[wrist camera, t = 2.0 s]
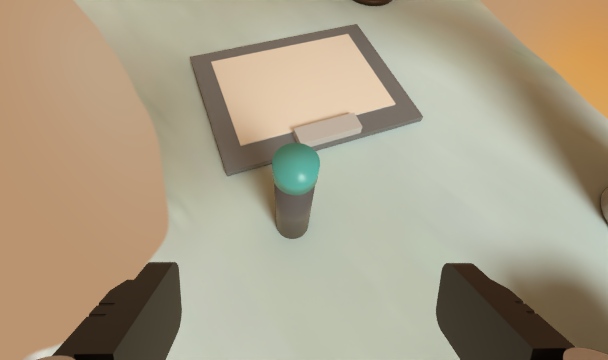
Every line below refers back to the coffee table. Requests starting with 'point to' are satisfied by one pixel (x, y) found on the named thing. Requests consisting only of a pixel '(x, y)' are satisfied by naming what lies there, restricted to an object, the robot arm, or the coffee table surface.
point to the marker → (294, 187)
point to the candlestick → (373, 2)
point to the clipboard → (298, 95)
